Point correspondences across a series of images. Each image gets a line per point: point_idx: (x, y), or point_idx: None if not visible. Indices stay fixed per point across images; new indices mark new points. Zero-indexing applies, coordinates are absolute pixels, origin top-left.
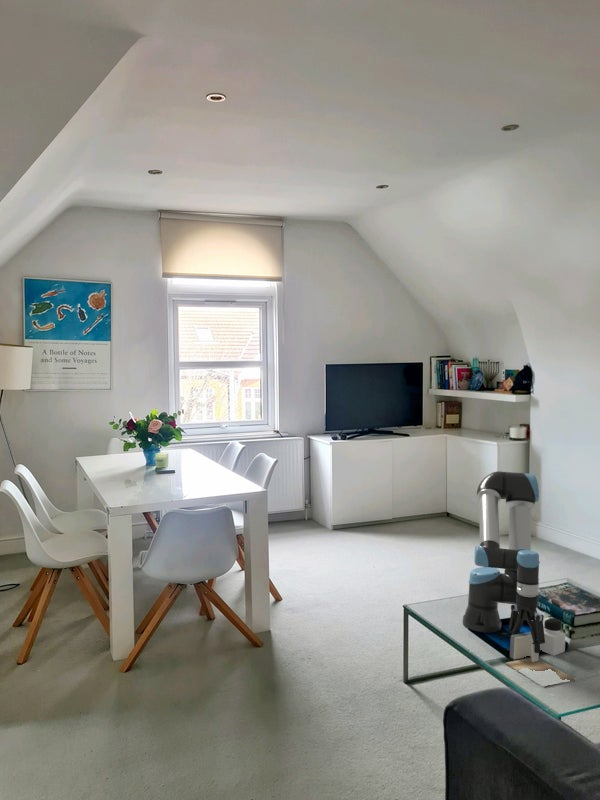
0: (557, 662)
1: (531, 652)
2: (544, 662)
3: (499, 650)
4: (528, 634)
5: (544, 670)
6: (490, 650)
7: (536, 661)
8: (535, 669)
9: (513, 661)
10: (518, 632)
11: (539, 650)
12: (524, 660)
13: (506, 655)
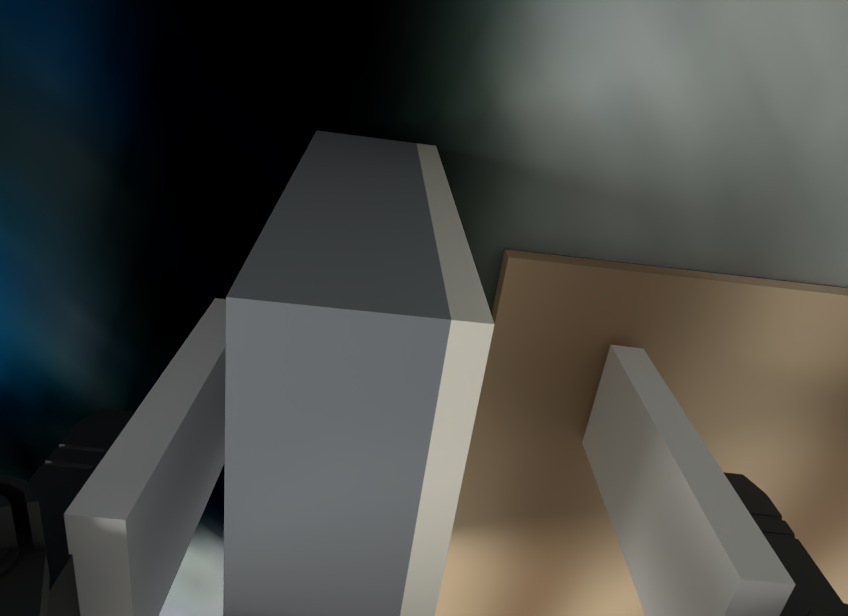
0: (835, 14)
1: (620, 542)
2: (717, 286)
3: None
4: (364, 556)
5: (829, 478)
6: None
7: None
8: None
9: (443, 602)
10: (47, 582)
11: (775, 520)
12: (499, 479)
13: None
